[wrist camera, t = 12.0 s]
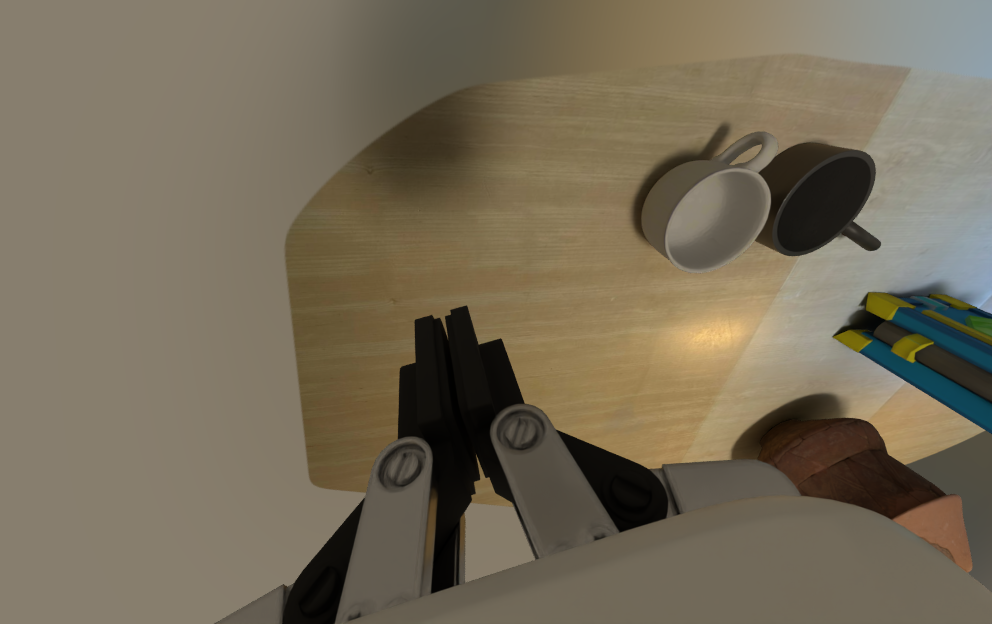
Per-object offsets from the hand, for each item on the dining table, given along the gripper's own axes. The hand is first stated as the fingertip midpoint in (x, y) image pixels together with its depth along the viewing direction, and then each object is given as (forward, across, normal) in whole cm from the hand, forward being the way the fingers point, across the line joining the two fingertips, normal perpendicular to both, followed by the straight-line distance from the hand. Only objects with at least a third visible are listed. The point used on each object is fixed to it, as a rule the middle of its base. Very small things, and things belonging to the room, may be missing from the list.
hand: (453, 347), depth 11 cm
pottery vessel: (+27, -61, +73) cm, 99 cm away
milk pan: (+27, -46, +16) cm, 56 cm away
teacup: (+27, -28, +9) cm, 40 cm away
